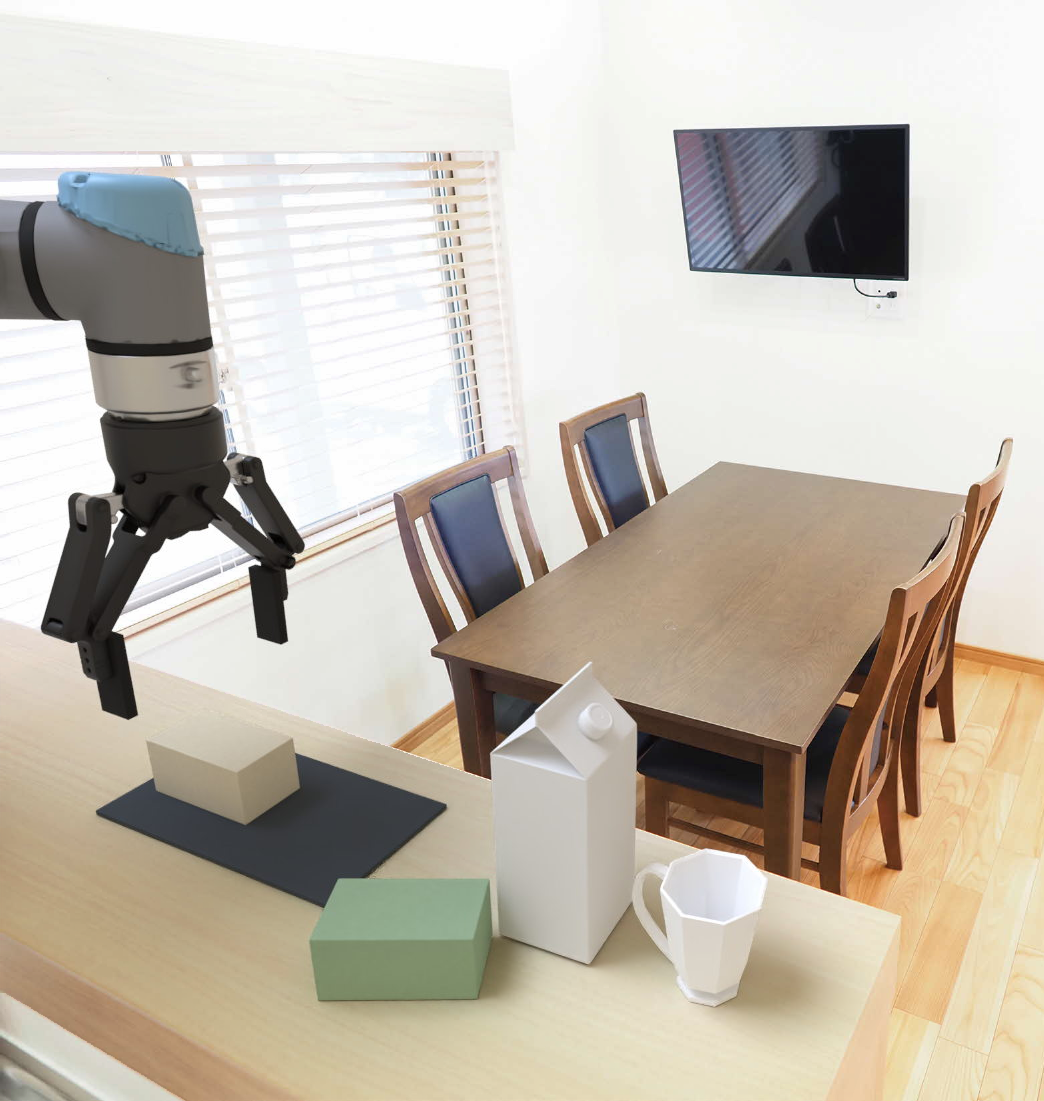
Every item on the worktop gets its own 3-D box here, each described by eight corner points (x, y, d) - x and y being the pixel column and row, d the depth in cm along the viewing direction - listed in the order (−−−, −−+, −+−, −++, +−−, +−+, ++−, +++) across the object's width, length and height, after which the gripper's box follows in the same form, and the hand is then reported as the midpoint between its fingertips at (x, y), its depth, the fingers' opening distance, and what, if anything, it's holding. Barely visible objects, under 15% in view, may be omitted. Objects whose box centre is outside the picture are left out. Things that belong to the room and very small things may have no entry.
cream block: (300, 788, 78) (293, 737, 77) (245, 825, 74) (236, 772, 72) (213, 757, 82) (204, 707, 80) (155, 791, 77) (145, 739, 75)
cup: (722, 1043, 58) (728, 941, 55) (600, 966, 63) (600, 870, 60) (781, 972, 63) (790, 876, 60) (665, 907, 68) (668, 816, 65)
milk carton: (498, 936, 65) (486, 698, 58) (550, 872, 71) (545, 650, 64) (588, 967, 63) (588, 724, 56) (635, 898, 69) (639, 672, 62)
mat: (96, 814, 75) (95, 810, 74) (234, 735, 86) (233, 731, 86) (328, 909, 66) (327, 905, 66) (446, 807, 78) (446, 803, 77)
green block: (317, 1001, 59) (308, 939, 57) (345, 935, 64) (338, 877, 62) (477, 999, 60) (473, 939, 58) (493, 935, 65) (489, 878, 63)
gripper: (10, 455, 54) (78, 767, 61) (336, 388, 75) (356, 624, 83) (-73, 435, 56) (2, 736, 64) (266, 375, 78) (291, 605, 86)
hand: (202, 673), depth 74 cm, fingers open, 13 cm apart
